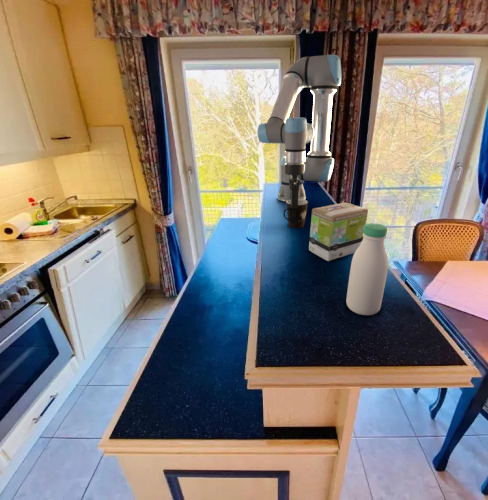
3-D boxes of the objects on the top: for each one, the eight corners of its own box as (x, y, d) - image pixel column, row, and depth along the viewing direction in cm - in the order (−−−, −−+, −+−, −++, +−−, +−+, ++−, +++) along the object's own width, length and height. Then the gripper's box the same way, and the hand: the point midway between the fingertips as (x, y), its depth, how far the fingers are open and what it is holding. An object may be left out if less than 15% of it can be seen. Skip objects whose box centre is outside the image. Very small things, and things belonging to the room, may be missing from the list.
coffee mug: (301, 220, 120) (302, 197, 116) (310, 227, 113) (311, 203, 109) (276, 224, 117) (276, 201, 112) (284, 231, 110) (284, 207, 105)
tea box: (329, 262, 85) (333, 216, 79) (308, 251, 93) (310, 208, 87) (362, 251, 93) (369, 208, 86) (340, 241, 100) (345, 200, 94)
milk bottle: (382, 318, 62) (400, 234, 53) (347, 314, 63) (358, 232, 54) (377, 298, 69) (391, 220, 60) (344, 295, 70) (354, 219, 61)
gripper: (284, 159, 114) (283, 213, 124) (285, 167, 95) (284, 230, 105) (302, 159, 114) (300, 213, 123) (307, 167, 95) (304, 230, 105)
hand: (293, 220), depth 114 cm, fingers open, 8 cm apart
